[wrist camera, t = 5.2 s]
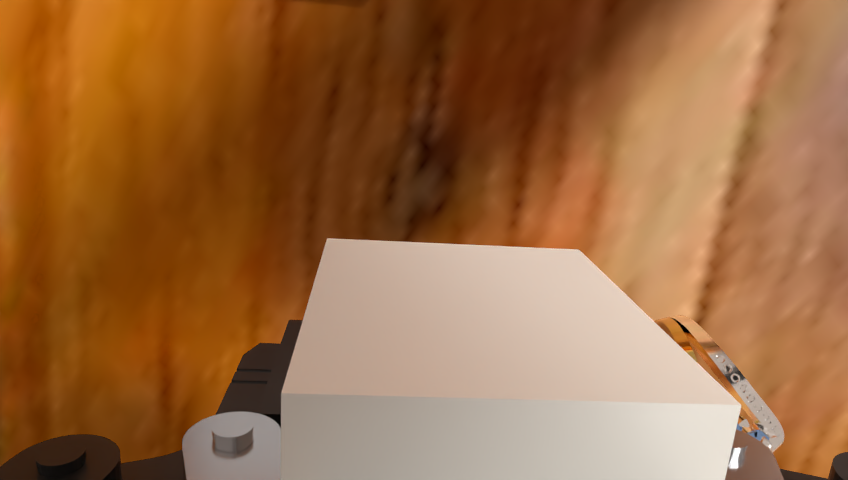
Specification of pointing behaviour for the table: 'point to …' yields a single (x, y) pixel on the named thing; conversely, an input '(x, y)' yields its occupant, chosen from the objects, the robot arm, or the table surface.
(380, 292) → the cream brick
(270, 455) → the robot arm
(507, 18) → the table surface
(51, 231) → the table surface
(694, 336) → the ring
